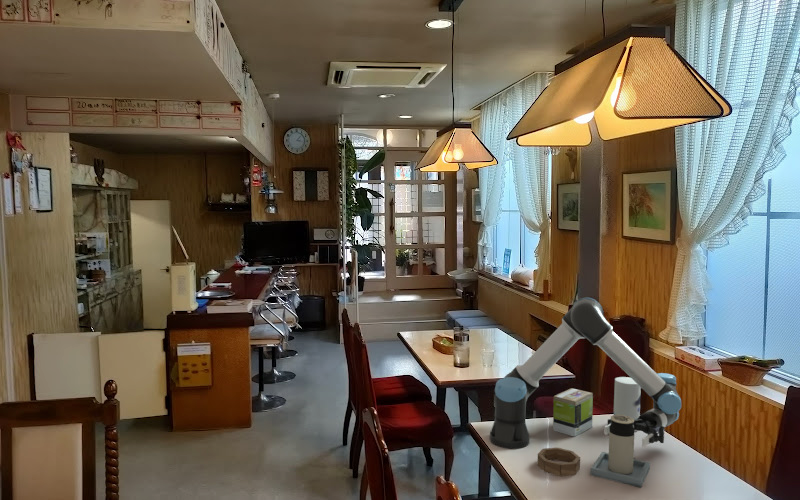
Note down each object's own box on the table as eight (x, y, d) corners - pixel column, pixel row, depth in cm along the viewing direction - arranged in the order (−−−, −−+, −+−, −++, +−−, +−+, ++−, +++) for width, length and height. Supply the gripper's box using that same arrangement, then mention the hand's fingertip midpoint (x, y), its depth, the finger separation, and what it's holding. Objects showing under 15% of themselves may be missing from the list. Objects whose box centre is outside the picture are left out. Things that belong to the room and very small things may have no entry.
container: (641, 433, 234) (643, 384, 232) (615, 431, 236) (617, 382, 234) (636, 424, 243) (638, 377, 242) (611, 422, 245) (613, 375, 244)
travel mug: (610, 473, 195) (612, 421, 194) (606, 463, 203) (607, 413, 202) (635, 475, 194) (637, 423, 193) (630, 465, 202) (631, 415, 201)
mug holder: (533, 469, 200) (533, 458, 200) (546, 455, 211) (546, 444, 211) (572, 479, 193) (572, 467, 193) (583, 464, 204) (583, 453, 204)
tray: (590, 475, 196) (590, 468, 196) (602, 458, 210) (602, 451, 210) (640, 487, 188) (641, 480, 187) (649, 469, 201) (649, 462, 201)
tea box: (570, 421, 246) (571, 387, 245) (592, 427, 239) (594, 392, 238) (552, 430, 236) (553, 394, 235) (574, 437, 228) (575, 400, 227)
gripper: (686, 441, 203) (659, 459, 189) (619, 422, 221) (590, 436, 207) (687, 421, 202) (660, 436, 188) (620, 402, 221) (590, 415, 207)
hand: (623, 436), depth 198 cm, fingers open, 13 cm apart
